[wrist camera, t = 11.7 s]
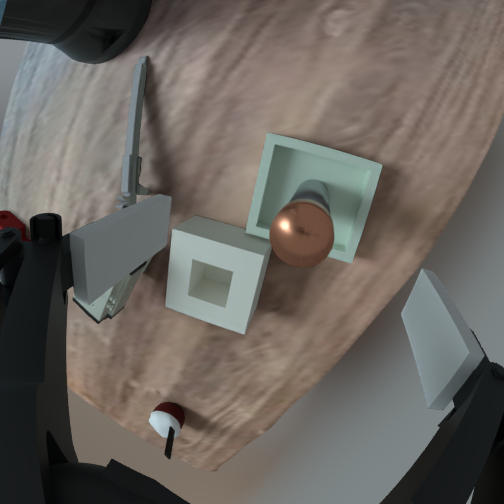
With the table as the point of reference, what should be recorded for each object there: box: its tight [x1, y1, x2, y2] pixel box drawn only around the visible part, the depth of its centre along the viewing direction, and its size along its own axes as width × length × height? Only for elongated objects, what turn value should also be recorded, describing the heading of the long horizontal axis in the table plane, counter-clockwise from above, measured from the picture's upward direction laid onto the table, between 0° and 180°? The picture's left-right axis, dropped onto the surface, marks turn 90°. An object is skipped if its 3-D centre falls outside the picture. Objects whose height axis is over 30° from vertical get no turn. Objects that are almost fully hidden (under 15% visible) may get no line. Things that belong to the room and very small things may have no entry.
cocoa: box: [149, 402, 185, 459], centre depth 47 cm, size 10×6×12 cm, turn 91°
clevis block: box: [165, 215, 272, 334], centre depth 35 cm, size 10×10×6 cm
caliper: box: [116, 56, 149, 210], centre depth 32 cm, size 20×1×6 cm, turn 1°
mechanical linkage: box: [0, 211, 31, 242], centre depth 46 cm, size 16×7×5 cm, turn 65°
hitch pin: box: [269, 179, 334, 267], centre depth 25 cm, size 4×4×15 cm
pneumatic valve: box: [72, 256, 153, 324], centre depth 35 cm, size 6×12×12 cm, turn 145°
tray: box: [245, 133, 382, 263], centre depth 31 cm, size 11×12×2 cm
